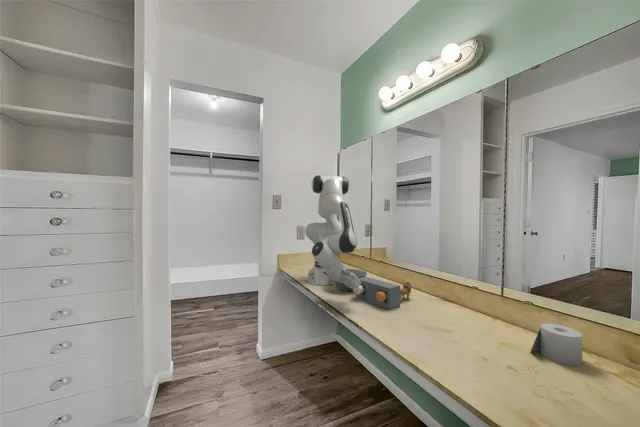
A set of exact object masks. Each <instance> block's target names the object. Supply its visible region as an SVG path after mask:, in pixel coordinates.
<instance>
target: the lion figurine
mask: <svg viewBox="0 0 640 427" xmlns="http://www.w3.org/2000/svg"><path fill="white" fill-rule="evenodd" d="M411 291H412V284H411V283H410V282H409V281H408V280H407V281H406V280H405V281H404V282H403V284H402V287H400V304H402V303H403V302H404V301H403V300H405V296H406V301H410V294H411ZM401 299H402V300H401Z"/></svg>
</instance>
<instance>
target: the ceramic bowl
mask: <svg viewBox="0 0 640 427" xmlns="http://www.w3.org/2000/svg"><path fill="white" fill-rule="evenodd" d="M345 271H348V272H352V273H353V274H355V275H356V276H357V277H358V278H362V277H367V274H368V273H367V271H365V270H362V269H358V268H346V269H345ZM333 281H334V280H333ZM334 283H335V284H334V285H335V286H336V287H337V288H338V289H340V290H342V291H343V292H354V291H353V288H352V289H351V288H348V287H347V286H346V285H345V284H343V283H340V282H337V281H334Z"/></svg>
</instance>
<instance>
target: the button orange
mask: <svg viewBox="0 0 640 427" xmlns="http://www.w3.org/2000/svg"><path fill="white" fill-rule="evenodd" d="M376 298H377V300H378V301H379V302H383V301H384V300H387V292H385V291H382V292H381V291H379V292H377V293H376Z"/></svg>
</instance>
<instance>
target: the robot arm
mask: <svg viewBox="0 0 640 427" xmlns="http://www.w3.org/2000/svg"><path fill="white" fill-rule="evenodd" d="M311 188H312V191H313V192H314V193H315V194H319V195H318V196H319V197H318V206H317V213H318V215H319V216H320V217H321V218H322V219H324V220H325V222H311V223H308V224H307V225H306V227H305V228H304V229H305V230H304V232H305V235H306V236H305V237H307V239H308V240H310V241H311V242H312V244H313V247H312V248H311V254H312V257H313V258H314V261H313V264H314V266H312V268H311V269H309V271H308V273H307V277H305V278H304V281H306V280H307V281H308V283H309V282H310V283H311V285H312V284H313V285H312V286H331V285H330V284H333V285H335V284H334V281H337V282H340V283H343V284H345V285H346V286H347V287H348V288H351V289H352V288H353V287H355V288H358V287H359V286H360V284H361V281H360V279H359V278H358V277H357V276H356V275H355V274H353V273H352V272H348V271H345V269H347V268H346V265H345V264H344V263H343V262H342V261H341V259H340V258H338V255H340V254H347V253H350V254H351V253H353V252H354V250H356V248H357V245H358V239H357V236H356V233H355V230H354V225H353V220H352V216H351V210H350V208H349V206H348V203H346V202H345V201H344V199H343V197H344V196H343V195H347V193H348V192H349V190H350V180H349V178H347V177H345V176H339V175H315V176H314V177H313V178H312V180H311ZM337 215H338V216H339V217H340V218H339V219H340V221H339V219H338V218H337ZM333 280H334V281H333ZM307 281H306V282H307ZM310 283H309V284H310Z"/></svg>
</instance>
